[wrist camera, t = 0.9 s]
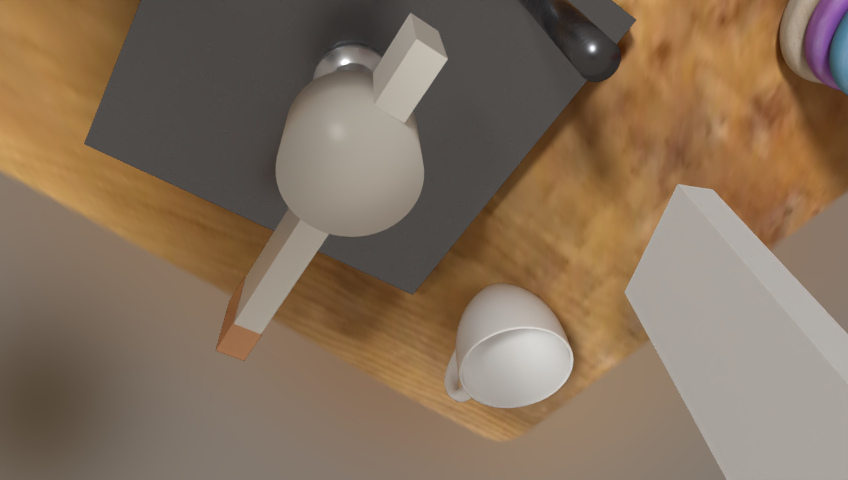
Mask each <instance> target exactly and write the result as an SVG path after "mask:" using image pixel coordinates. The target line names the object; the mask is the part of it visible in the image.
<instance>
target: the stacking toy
mask: <svg viewBox="0 0 848 480" xmlns="http://www.w3.org/2000/svg"><path fill="white" fill-rule="evenodd" d="M780 48H781V52H782V55H783V58H784V60H785V62H786V63H787V65H788V66H789V68H790V69H791V70H792V71H793V72H794V73H795V74H797V75H798V76H800V77H801V78H803V79H805V80H808V81H811V82H814V83H821V84H825V85H827V86H829V87H831V88H834V89H837V90H841V91H843V92H844V93H845V94H846V95H848V0H789V2H788V4H787V6H786V9H785V11H784V14H783V17H782V21H781V26H780Z"/></svg>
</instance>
